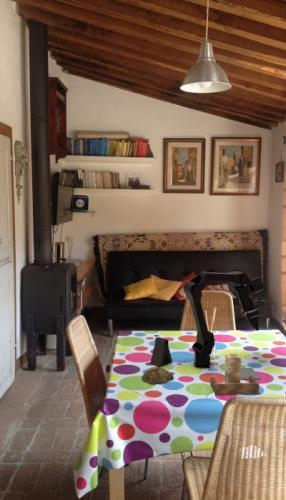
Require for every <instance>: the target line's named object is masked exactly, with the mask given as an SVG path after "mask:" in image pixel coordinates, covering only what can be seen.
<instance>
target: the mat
mask: <svg viewBox="0 0 286 500" xmlns="http://www.w3.org/2000/svg"><path fill="white" fill-rule="evenodd" d="M249 376H252V377H253V378H254V379H255V380H261V376H260V375H259V374H258V373H257V372H256V371H255V369H254V368H253V367H241V378H240V381H241V380H249Z"/></svg>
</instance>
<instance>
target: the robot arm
mask: <svg viewBox="0 0 286 500" xmlns="http://www.w3.org/2000/svg"><path fill="white" fill-rule="evenodd" d="M209 282H223V283H225V282H226V283H227V282H228V283H232V284H237V285H233V286H232V287H231V289H230V290H231V292H235V293H236V295H237V297H238V301H239V302H238V303H239V304H240V306H241V309H240V312H241V315H242V317H243V319H245V320H246V321H247V322H248V324H249V325H250V326H251V327H252V329H255V331H256V332H259V331H260V329H259V318H260V316H261V312H260V310H259V309H257V308H265V309H266V308H267V300H264V299H262V298H261V297H256V299H254V298H253V297H252V296H251V295H255V294H256V293H259V292H262V291H263V290H264V289H265V285H264V284H263V283H264V282H263V281H262V280H261V278H260V277H258V276H256V277H254V278H250V277H249V276H248V274H247V273H246V272H242V271H238V270H236V271H230V272H213V271H212V272H211V271H210V272H209V271H201V272H199V274H198V275H196V276H195V277H193V278H191V279H190V280H189V281H187V282H186V283H185V284H184V286H183V292H184V294H185V297H186V298H187V301H189V303H190V306H191V311H192V314H193V319H194V322H195V327H196V330H197V332H196V341H195V342H194V343H193V344H192V345H191V348H192V351H193V352H194V356H193V360H194V361H193V365H194V367H195V368H196V369H203V368H204V369H205V368H207V369H209V368H211V366H210V365H211V355H212V352H213V349H214V347H215V346H216V345H215V344H216V339H215V334H214V333H213V332H212V331H210V330H208V325H207V321H206V317H205V313H204V309H203V305H202V298H203V290H204V289H206V287H207V285H208V283H209Z"/></svg>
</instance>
